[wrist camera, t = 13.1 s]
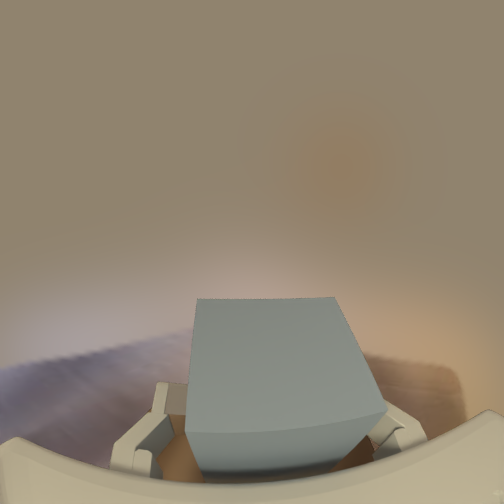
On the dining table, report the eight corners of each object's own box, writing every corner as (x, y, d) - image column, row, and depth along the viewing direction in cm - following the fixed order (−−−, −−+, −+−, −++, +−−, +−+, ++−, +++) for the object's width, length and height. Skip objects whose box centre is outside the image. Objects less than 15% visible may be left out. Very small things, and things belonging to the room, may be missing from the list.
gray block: (214, 501, 11) (184, 431, 5) (213, 436, 15) (197, 298, 9) (298, 495, 11) (388, 410, 5) (287, 433, 15) (334, 297, 10)
